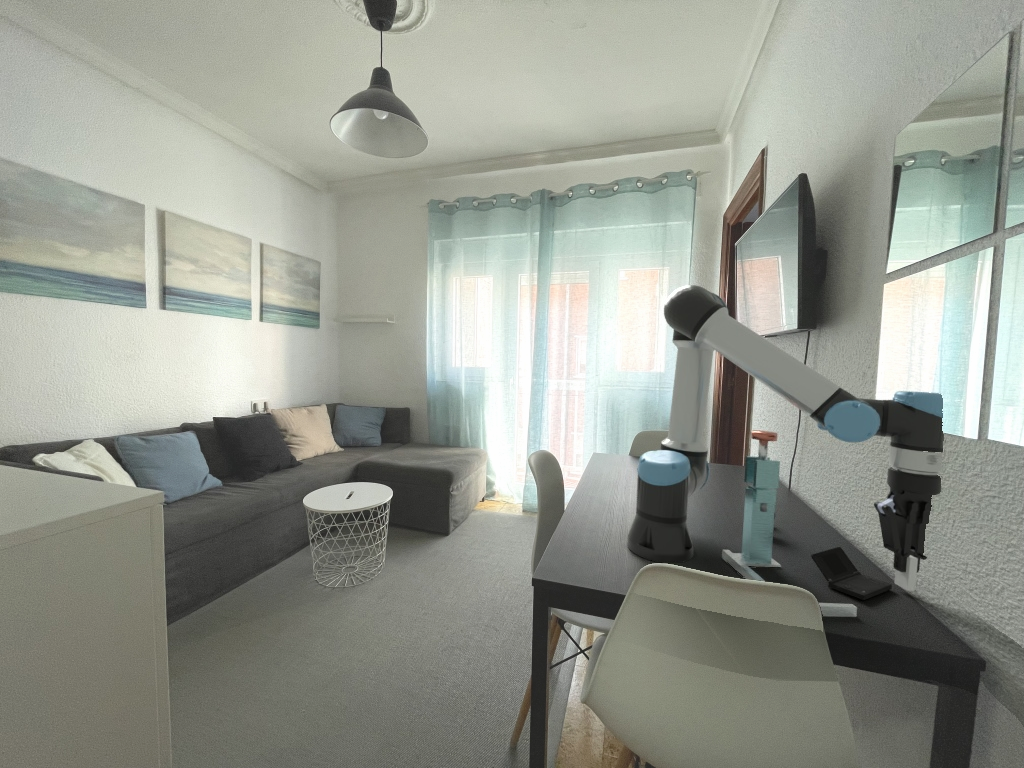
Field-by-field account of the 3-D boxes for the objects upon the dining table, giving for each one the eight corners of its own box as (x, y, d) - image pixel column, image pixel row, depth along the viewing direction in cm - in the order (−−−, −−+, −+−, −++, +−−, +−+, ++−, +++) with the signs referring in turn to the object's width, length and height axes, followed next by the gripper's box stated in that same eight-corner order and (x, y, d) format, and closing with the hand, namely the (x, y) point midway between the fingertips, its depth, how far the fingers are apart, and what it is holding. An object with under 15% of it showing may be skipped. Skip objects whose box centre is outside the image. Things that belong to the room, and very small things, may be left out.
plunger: (757, 467, 88) (759, 433, 88) (744, 462, 93) (746, 429, 93) (780, 468, 88) (782, 434, 88) (766, 463, 93) (768, 430, 93)
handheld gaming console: (856, 610, 77) (865, 597, 76) (802, 566, 86) (810, 554, 84) (885, 598, 81) (894, 585, 80) (831, 557, 90) (839, 545, 89)
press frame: (783, 615, 72) (792, 483, 71) (719, 555, 94) (725, 455, 93) (856, 618, 72) (866, 486, 71) (775, 557, 94) (781, 457, 93)
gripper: (899, 474, 75) (889, 596, 76) (969, 476, 75) (958, 599, 76) (864, 464, 82) (855, 575, 83) (928, 466, 82) (918, 578, 83)
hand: (904, 586), depth 80 cm, fingers closed
